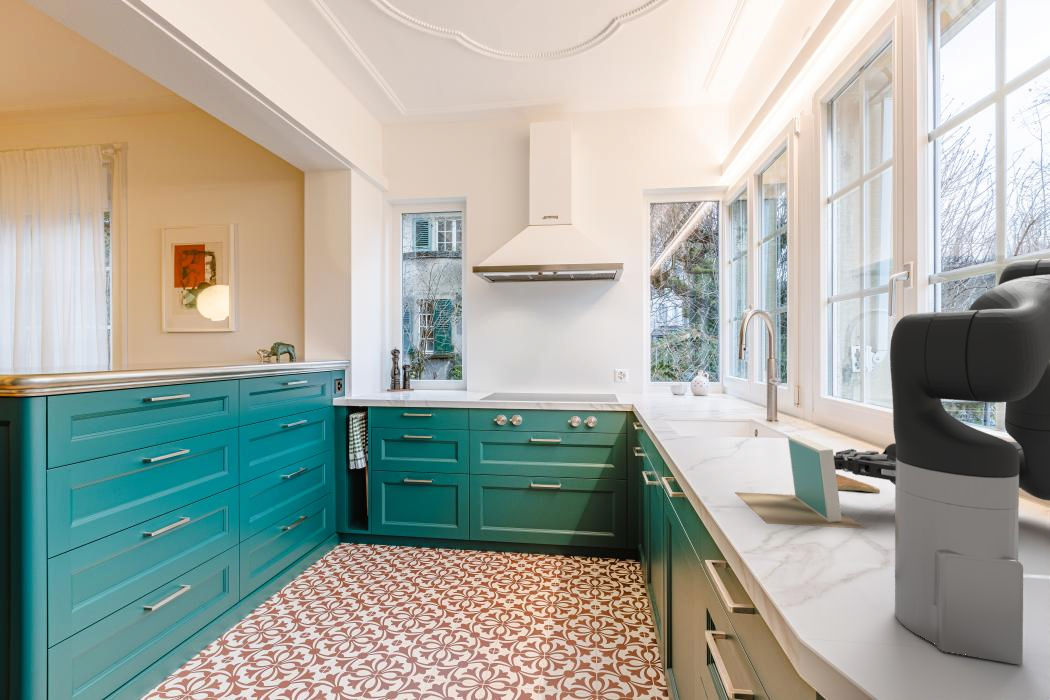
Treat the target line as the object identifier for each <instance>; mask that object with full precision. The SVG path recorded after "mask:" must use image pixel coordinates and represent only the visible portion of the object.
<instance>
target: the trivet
mask: <svg viewBox="0 0 1050 700" xmlns="http://www.w3.org/2000/svg"><path fill="white" fill-rule="evenodd" d="M734 493H735V494H736V495H737V496H738V497H739V499H741V500H742V501H743V502H744V503H745V504H746V505H747V506H748V507H749V508H751V510H752V511H753V512H755V514H756V515H758V517H760V518H761V519H762V521H764V522H765V523H766V524H776V525H792V526H810V527H812V526H813V527H815V526H816V527H831V528H832V527H833V528H848V529H850V528H851V529H865V527H864V526H862V525H861V524H860V523H858V522H856V520H854V519H852V518H850V517H848V516H847V515H845V514H844V513H842V512H841V517H842V521H836V522H828V521H827V520H826V519H824V518H823V517H821V516H820V515H819V514H817V513H816V512H814V511H813V510H812V509H810V508H809V507H807V506H806V505H805V504H803V503H802V502H800V501H799V500H797V499H796V497H795V494H783V493H781V494H779V493H755V492H738V491H737V492H734Z"/></svg>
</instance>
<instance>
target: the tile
mask: <svg viewBox="0 0 1050 700" xmlns="http://www.w3.org/2000/svg"><path fill="white" fill-rule="evenodd" d="M787 440H788V442H787V443H788V449H789V456H790V464H791V473H792V480H793V481H792V482H793V489H794V495H795V497H796V499H797V500H799V501H800V502H802V503H803V504H805V505H806V506H807V507H809V508H810V509H812V510H813V511H814V512H816V513H817V514H819V515H820V516H821V517H823V518H824V519H826V520H827V521H828V522H836V521H842V517H841V513H842V511H841V503H840V495H839V490H838V486H837V479H836V474H837V470H835V463H834V456H835V455H834V450H833V449H832V448H830V447H828V446H825V445H823V444H820V443H819V442H818V443H817V442H815V441H813V440H810V439H808V438H805V437H804V436H800V435H792V436H790V435H789V436H787Z"/></svg>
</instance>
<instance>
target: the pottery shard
mask: <svg viewBox="0 0 1050 700" xmlns="http://www.w3.org/2000/svg"><path fill="white" fill-rule="evenodd" d="M836 479H837V486H838V491H862V492H869V493H873V494H880V491H881V490H880V488H878V487H876V486H873V485H870V484H868V483H865V482H862V481H858V480H856V479H853V478H851V477H847V476H844V475H841V474H837V473H836Z"/></svg>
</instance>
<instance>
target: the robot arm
mask: <svg viewBox="0 0 1050 700" xmlns="http://www.w3.org/2000/svg"><path fill="white" fill-rule="evenodd" d="M890 339H891V340H890V347H889V348H890V349H889V357H890V358H889V361H890V363H889V364H890V366H889V367H890V378H891V380H890V381H891V395H892V410H893V411H892V412H893V413H892V417H893V418H892V424H893V435H894V442H893V443H890V444H888V445H887V446H886V448H885V449H884V451H883V452H882V453H879V451H878V450H877V451H876V450H866V451H857V450H856V449H854V448H851V449H845V450H840V451H836V452H835V455H834V463H835V471H843V472H845V473H852V474H854V475H855V476H861V477H862V476H864V477H869V478H874V479H881V480H886V481H890V482H891V484H893V485H894V486H895V503H894V505H895V507H894V508H895V510H894V511H895V512H894V514H895V515H894V517H895V518H894V523H895V524H894V531H895V533H894V536H895V537H894V614H895V617H896V618H897V620H898V621H899V622H900V623H901V624H902V625H903V626H904V627H905V628H906V629H908V630H909V631H911V632H912V633H914V634H915V635H917V636H918V635H919V636H918V637H920V636H921V637H920V638H922V637H923V638H922V639H924V638H925V639H924V640H926V641H928V640H929V641H928V642H930V641H931V642H933V643H935V644H936V645H937V646H938V647H939V648H940V649H941V650H942V651H941V650H940V649H939V648H938V647H937V646H936V645H935V644H934V645H935V646H936V647H937V648H938V649H939V650H940V651H941V652H943V651H946V652H945V653H948V652H954V653H958V654H957V655H959V654H964V655H963V656H965V654H966V655H969V656H968V657H971V656H972V658H977V657H978V658H979V659H982V660H983V659H985V660H990V661H996V662H1002V663H1006V664H1014V665H1018V666H1019V665H1020V666H1023V662H1024V661H1023V659H1024V655H1023V653H1024V648H1023V647H1024V644H1023V643H1024V566H1023V563H1021V562H1020V561H1019V506H1020V505H1019V504H1020V499H1019V497H1020V493H1019V492H1020V489H1021V490H1022V491H1024V492H1026V493H1027V494H1029V495H1030V496H1032V497H1035V498H1037V499H1039V500H1042V501H1049V502H1050V258H1046V259H1045V258H1042V259H1041V258H1039V259H1038V258H1037V259H1023V260H1015V261H1012V262H1010V263H1008V264H1007V265H1006V266H1005V268H1004V269H1003V270H1002V272H1001V275H1000V277H999V280H998V283H997V285H995V286H994V287H993V288H991V289H989V290H987V291H985V292H984V293H983V294H981V295H979V296H978V297H977V298H976V299H975V300H974V302H973V303H972V304H971V305H970V307H969V308H968V310H957V311H956V310H955V311H951V310H950V311H935V312H917V313H911V314H907V315H905V316H903V317H902V318H900V319H899V320H898V322H897V323H896V324H895V327H894V328H893V331H892V336H891V338H890ZM942 400H948V401H949V400H952V401H953V400H954V401H966V402H978V403H979V402H980V403H993V404H994V403H997V404H998V403H1005V412H1004V429H1005V432H1006V433H1007V434H1008V435H1009V437H1011V438H1012V439H1013V440H1014V441H1007V440H1006V439H1003V438H1000V437H998V436H996V435H992V434H989V433H987V432H984V431H982V430H979V429H977V428H974V427H972V426H970V425H968V424H966V423H964V422H962V421H961V420H959V419H957V418H956V417H954V416H953V415H951V414H950V413H949V412H947V410H946V409H945V407H944V405H943V403H942ZM931 642H930V643H931ZM933 643H932V644H933ZM954 653H953V654H954Z"/></svg>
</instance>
